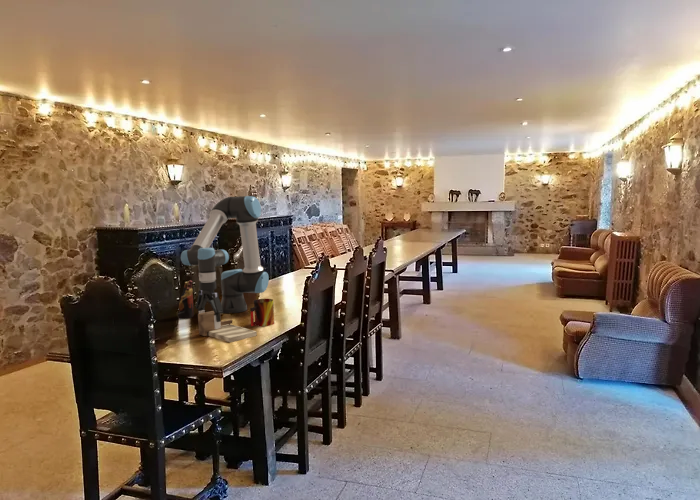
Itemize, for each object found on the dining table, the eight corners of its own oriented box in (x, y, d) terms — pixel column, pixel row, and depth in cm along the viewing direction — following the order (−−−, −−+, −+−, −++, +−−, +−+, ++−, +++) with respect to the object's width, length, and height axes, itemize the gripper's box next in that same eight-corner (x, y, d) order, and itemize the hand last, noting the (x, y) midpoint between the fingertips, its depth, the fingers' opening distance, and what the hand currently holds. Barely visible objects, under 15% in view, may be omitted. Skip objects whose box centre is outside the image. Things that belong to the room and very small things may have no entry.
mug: (250, 328, 238) (249, 304, 237) (257, 321, 252) (256, 298, 250) (270, 328, 237) (269, 304, 236) (275, 321, 251) (274, 298, 250)
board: (201, 333, 231) (201, 329, 231) (227, 327, 241) (227, 323, 241) (230, 342, 215) (230, 337, 214) (256, 335, 225) (256, 331, 225)
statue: (182, 315, 271) (180, 279, 269) (196, 315, 271) (194, 279, 269) (174, 320, 259) (172, 282, 257) (189, 320, 259) (187, 282, 257)
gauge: (199, 334, 228) (197, 313, 228) (228, 327, 240) (227, 307, 239) (204, 336, 225) (203, 315, 224) (234, 329, 237) (233, 309, 236)
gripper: (186, 279, 233) (189, 323, 235) (214, 284, 216) (217, 332, 218) (201, 277, 239) (203, 320, 241) (229, 282, 222) (231, 328, 224)
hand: (209, 326), depth 230 cm, fingers open, 13 cm apart
